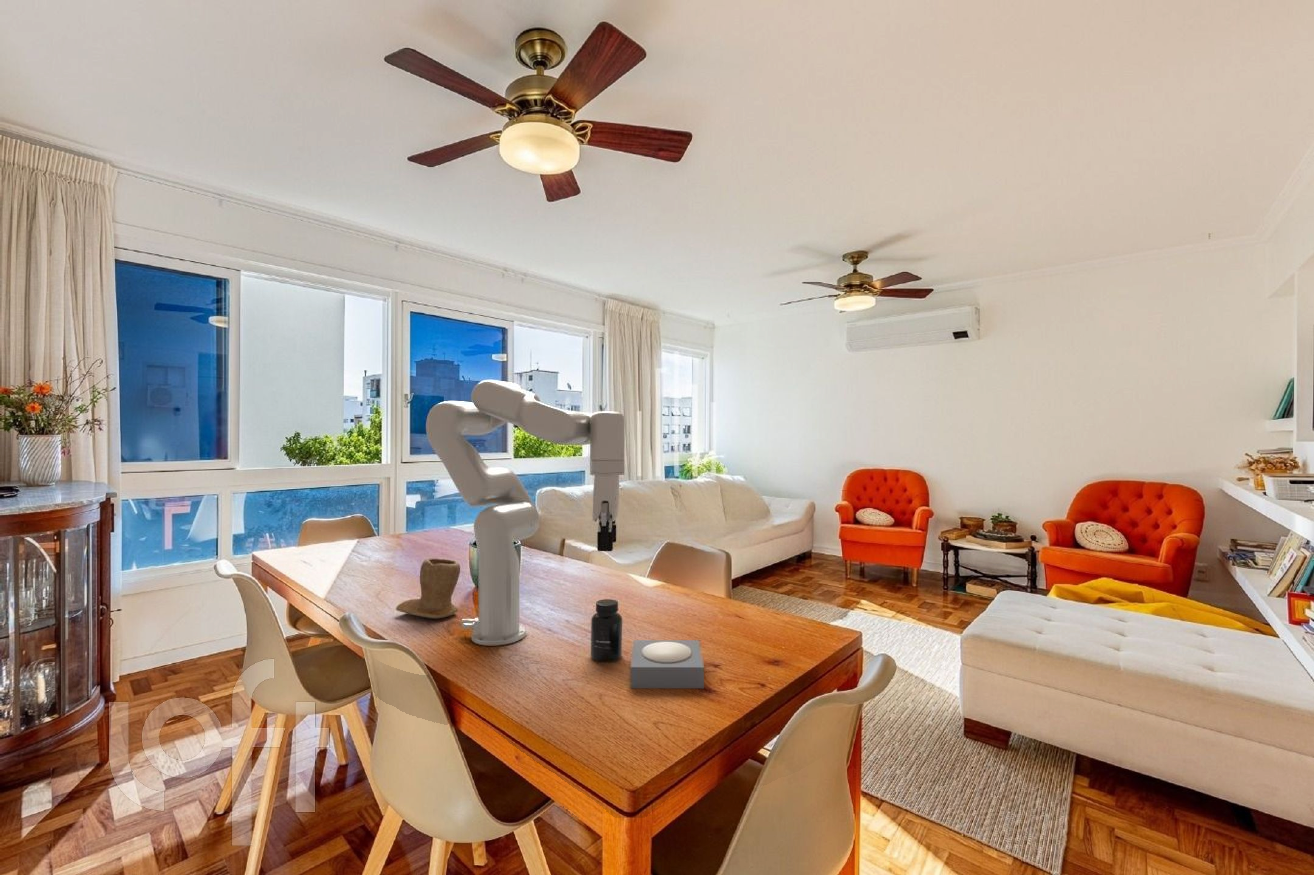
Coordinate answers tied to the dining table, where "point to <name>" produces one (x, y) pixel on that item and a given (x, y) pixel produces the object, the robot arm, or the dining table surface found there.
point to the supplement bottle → (606, 632)
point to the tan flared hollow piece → (434, 590)
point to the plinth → (667, 664)
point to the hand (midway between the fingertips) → (607, 546)
